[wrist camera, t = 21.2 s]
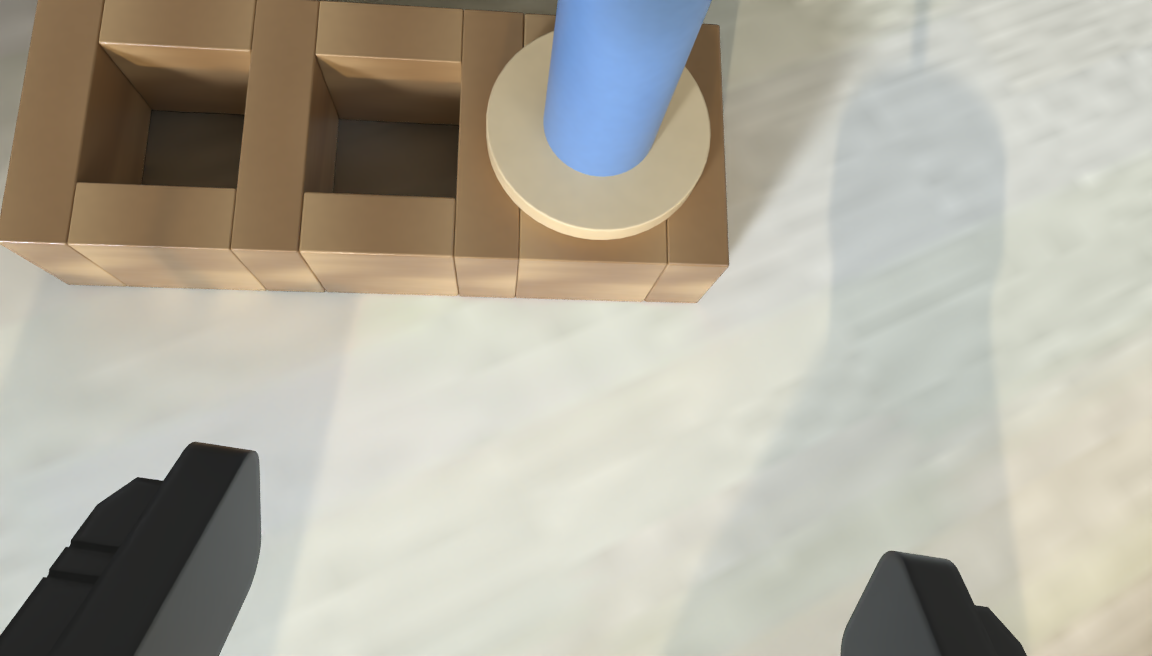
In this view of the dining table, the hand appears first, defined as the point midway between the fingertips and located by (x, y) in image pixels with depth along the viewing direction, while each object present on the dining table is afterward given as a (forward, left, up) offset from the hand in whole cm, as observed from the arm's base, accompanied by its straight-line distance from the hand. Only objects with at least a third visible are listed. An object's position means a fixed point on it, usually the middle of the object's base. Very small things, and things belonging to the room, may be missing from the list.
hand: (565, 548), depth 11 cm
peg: (-2, +11, -15) cm, 19 cm away
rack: (-8, +10, -15) cm, 20 cm away
